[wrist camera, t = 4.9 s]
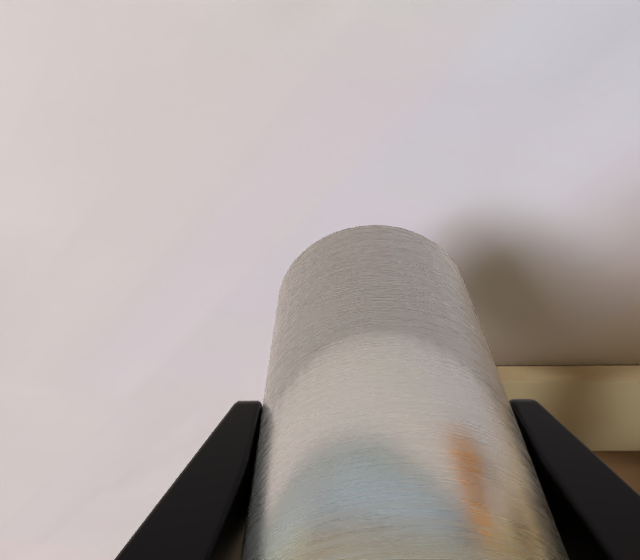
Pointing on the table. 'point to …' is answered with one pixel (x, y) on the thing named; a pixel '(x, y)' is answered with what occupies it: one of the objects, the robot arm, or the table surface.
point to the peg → (388, 417)
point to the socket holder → (588, 407)
